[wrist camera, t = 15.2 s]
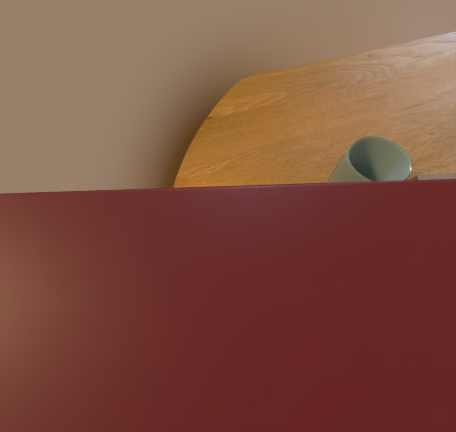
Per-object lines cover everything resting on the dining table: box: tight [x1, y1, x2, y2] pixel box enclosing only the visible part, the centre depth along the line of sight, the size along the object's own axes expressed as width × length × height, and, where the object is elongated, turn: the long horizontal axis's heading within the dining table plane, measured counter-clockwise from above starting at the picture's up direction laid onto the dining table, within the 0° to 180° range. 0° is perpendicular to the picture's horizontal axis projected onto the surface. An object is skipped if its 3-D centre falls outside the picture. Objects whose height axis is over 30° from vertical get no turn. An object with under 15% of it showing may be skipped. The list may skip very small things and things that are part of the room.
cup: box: [328, 136, 412, 183], centre depth 33 cm, size 8×8×10 cm
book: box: [0, 179, 456, 432], centre depth 9 cm, size 10×4×16 cm, turn 92°
